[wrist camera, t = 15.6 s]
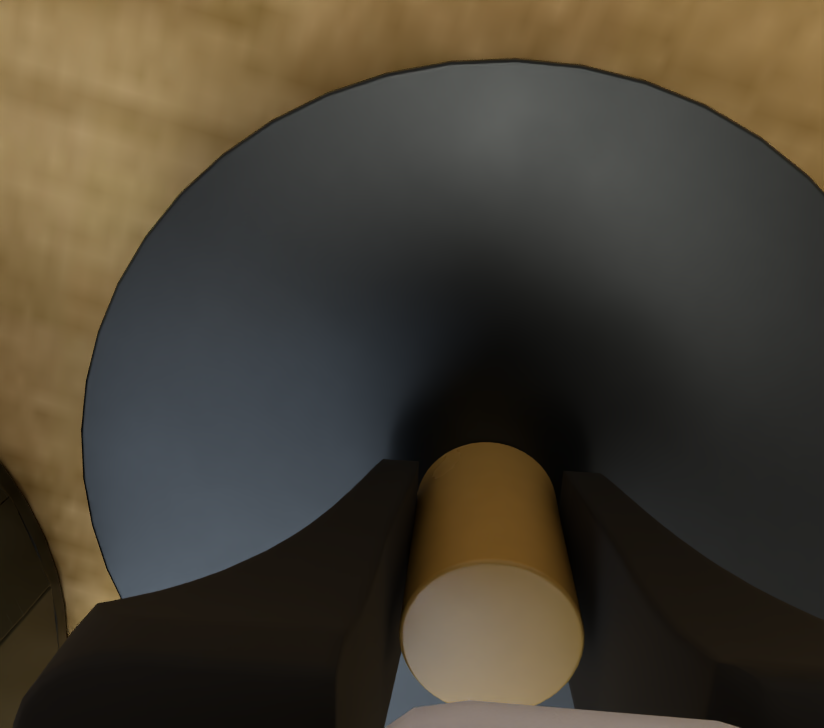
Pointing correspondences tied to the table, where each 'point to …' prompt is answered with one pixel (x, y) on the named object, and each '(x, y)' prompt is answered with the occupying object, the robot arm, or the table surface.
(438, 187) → the tin lid
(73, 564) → the table surface
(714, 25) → the table surface
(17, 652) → the tin
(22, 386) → the table surface
